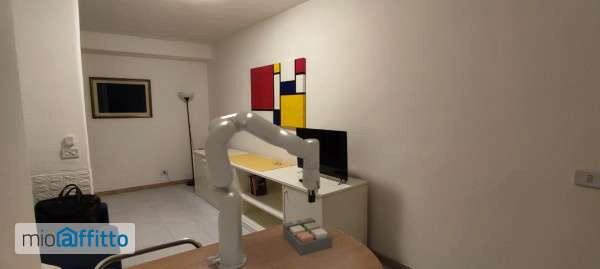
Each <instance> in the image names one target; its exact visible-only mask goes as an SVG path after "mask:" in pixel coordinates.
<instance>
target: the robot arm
mask: <svg viewBox="0 0 600 269" xmlns="http://www.w3.org/2000/svg"><path fill="white" fill-rule="evenodd" d="M208 123H209V124H208V126H207V131H208V135H207V136H206V139H205V140H204V141H205V142H204V146H203V148H204V156H205V159H206V164H207V165H206V167H205V170H204V172H205V173H204V174H205V178H206V182H207V186H208V189H209V192H210V195H211V198H212V200H213V202H214V203H215V204H216V205H217V207H218V216H217V217H218V218H217V228H218V251H217V253H216V254H215V255H213V256H212V255H210V256H207V262H208V263H210V262H211V264H215V265H216V268H218V269H240V268H242V267H243V266H245V264H247V259H248V258H247V255H246V254H245V253H243V252H244V251H243V250H244V246H243V245H244V244H243V219H242V218H243V208H244V207H243V206H244V200H243V196H242V194H241V193H240V192H239V191H238V190H237V189H236V188H235V187H233V185H232V184H233V182H234V179H235V178H234V177H235V176H234V175H235V174H234V171H233V167H232V164H231V161H230V158H229V152H228V145H229V142H230V141H231V140H232V139H233V137H234V136H235V134H237V133H240V132H243V131H244V132H246V133H248V134H250V135H252V136H254V137H256V138H257V139H260V141H261V140H262V141H263V142H265V143H267V144H269V145H272V146H274V147H278V148H280V149H283V150H285V151H286V152H287V154H289V155H290V156H293V157H297V158H300V159H303V169H302V178H301V179H302V181H301V182H302V186H303V187H304V188H306V189H307V190H306V191H307V202H308V204H313V203H316V195H317V194H319V190H320V189H321V188H320V187H321V175H320V141H319V140H318V139H317V138H305V139H303V138H302V137H300V136H298V135H296V134H295V133H292V132H290V131H288V130H286V129H285V128H282V127H280V126H278V125H276V124H275V123H273V122H271V121H270V120H268V119H266V118H264V117H262V115H260V114H257V113H256V112H253V111H247V110H243V111H239V112H236V113H230V114H227V115H222V116H220V117H216V118H214V119H212V120H211V121H210V122H208Z"/></svg>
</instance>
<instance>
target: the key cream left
mask: <svg viewBox="0 0 600 269" xmlns="http://www.w3.org/2000/svg"><path fill="white" fill-rule="evenodd" d="M290 232H291V233H292V234H293V235H294V236H297V234H298V233H302V232H305V229H304V228H303V227H302V226H301V225H298V226H294V227H290Z"/></svg>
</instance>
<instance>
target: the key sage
mask: <svg viewBox="0 0 600 269" xmlns="http://www.w3.org/2000/svg"><path fill="white" fill-rule="evenodd" d="M319 227H320V226H319V225H318V224H317V223H316V222H315V223H314V222H312V223H307V224H304V229H305V230H306V231H308V232H309V233H310V232H311V230H315V229H319Z"/></svg>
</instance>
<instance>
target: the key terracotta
mask: <svg viewBox="0 0 600 269" xmlns="http://www.w3.org/2000/svg"><path fill="white" fill-rule="evenodd" d="M297 239H298V240H299V241H300V242H301V243H305V242H309V241H313V236H312V235H311V234H310V233H309V232H308V231H306V232H302V233H298V234H297Z"/></svg>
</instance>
